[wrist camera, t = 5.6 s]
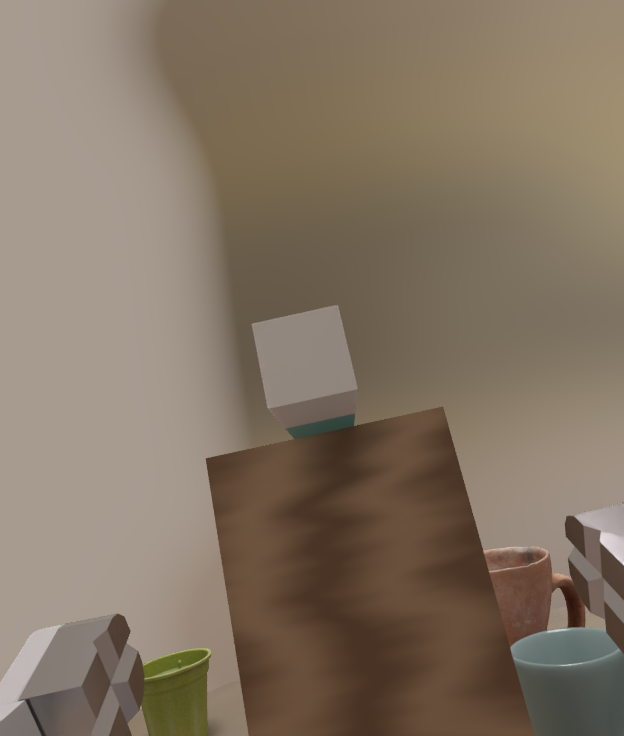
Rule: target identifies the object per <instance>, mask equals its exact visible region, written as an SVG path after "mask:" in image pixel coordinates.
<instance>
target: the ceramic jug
mask: <svg viewBox="0 0 624 736" xmlns="http://www.w3.org/2000/svg"><path fill="white" fill-rule="evenodd" d="M483 552H484V556H485V559H486V563H487V566H488V570H489V574H490V577H491V581H492V584H493V588H494V591H495V595H496V599H497V602H498V606H499V609H500V613H501V617H502V620H503V624H504V627H505V631H506V635H507V638H508V642H509V645H510V647H511V646H512V645H513V644H514V643H515V642H517V641H519V640H520V639H523V638H525V637H527V636H530V635H532V634H535V633H539V632H543V631H547V625H548V620H549V613H550V605H551V594H552V592H553V591H554V590H555V589H556V588H560V589H561V590H562V592H563V594H564V597H565V600H566V605H567V610H568V628H581V627H584V628H585V607H584V603H583V602H582V600H581V598H580V597H579V595H578V593H577V591H576V589H575V587H574V584H573V581H572V579H571V578H569V577H568V576H566V575H562V574H558V573H554V574H552V568H551V560H550V554H549V552H548V551H547V550H546V549H542V548H540V547H532V546H529V547H509V548H503V549H491V550H485V551H483Z"/></svg>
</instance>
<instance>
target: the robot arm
mask: <svg viewBox="0 0 624 736" xmlns="http://www.w3.org/2000/svg"><path fill="white" fill-rule="evenodd" d="M565 531H566V537H567V538H568V539H569V540H570V541H571V543H572V544H573V545H574V546H575V547H574V548H573V550H572V552H571V554H570V555H569V557H568V562H569V569H570V575H571V578H572V581H573V584H574V587H575V589H576V591H577V593H578V595H579V597H580V598H581V600H582V602H583V603H584V605H585V606H586V607H587V608H588V610H589V611H590V612H591V613H592V614H595V615H597V616H599V617H601V618H603V619H605V622H606V633H607V634H608V635H609V636H610V638H611V639H612V640H613V641H614V643H615V644H616V645H617V646H618V648H619V649H620V650H621V651H622V653H623V654H624V502H623V503H622V504H618V505H614V506H609V507H605V508H601V509H596V510H592V511H587V512H583V513H578V514H574V515H569V516H567V517H566V522H565ZM129 634H130V629H129V627H128V624H127V622H126V620H125V617H124V616H122V615H120V614H113V615H108V616H103V617H98V618H93V619H87V620H82V621H77V622H72V623H67V624H65V625H57V626H53V627H48V628H44V629H39V630H37V631H36V632H34V633H32V634H31V635H30V637H29V638H28V640H27V642H26V643H25V645H24V646H23V648H22V649H21V651H20V653H19V654H18V656H17V657H16V659H15V660H14V662H13V664H12V665H11V667H10V668H9V670H8V672H7V673H6V675H5V676H4V678H3V680H2V681H1V683H0V736H132V735H131V732H130V730H129V727H128V725H127V723H128V722H129V721H130V720H131V719H132V718H133V717H134V716H135V714H136V713H137V712H138V711H139V709H140V706H141V702H142V698H143V695H144V677H145V676H144V670H143V664H142V661H141V658H140V655H139V652H138V651H137V650H136V649H134V648H133V647H131V646H130V645H128V644H127V643H126V642H127V639H128V637H129Z"/></svg>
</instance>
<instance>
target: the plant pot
mask: <svg viewBox="0 0 624 736" xmlns="http://www.w3.org/2000/svg"><path fill="white" fill-rule="evenodd" d="M210 657H211V651H210V650H209V649H204V648H199V649H190V650H185V651H180V652H176V653H173V654H169V655H166V656H163V657H160V658H157V659H154V660H152V661H150V662H147V663H145V664H143V670H144V676H145V677H144V695H143V698H142V702H141V706H142V710H143V714H144V718H145V721H146V725H147V729H148V733H149V736H208V721H207V671H208V669H209V658H210Z"/></svg>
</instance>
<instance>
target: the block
mask: <svg viewBox="0 0 624 736" xmlns="http://www.w3.org/2000/svg"><path fill="white" fill-rule="evenodd" d="M252 328H253V333H254V338H255V343H256V349H257V354H258V359H259V364H260V370H261V375H262V380H263V386H264V391H265V396H266V401H267V406H268V409H269V411H270V412H271V413H272V414H273V415H274V416H275V417H276V419H277V420H278V421H279V422H280V423H281V424H282V425H283V427H284V428H285V429H286V430H287V431H288V432H289V433H290V435H291V436H292V437H293V438H294V439H297V438H302V437H307V436H311V435H316V434H320V433H325V432H329V431H334V430H339V429H343V428H348V427H352V426H354V419H355V409H356V400H357V392H358V388H357V384H356V380H355V375H354V371H353V367H352V363H351V359H350V354H349V350H348V346H347V342H346V338H345V334H344V330H343V325H342V321H341V317H340V312H339V308H338V305H335V306H330V307H326V308H322V309H317V310H312V311H308V312H303V313H299V314H294V315H290V316H285V317H281V318H276V319H272V320H267V321H262V322H258V323H253V324H252Z"/></svg>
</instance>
